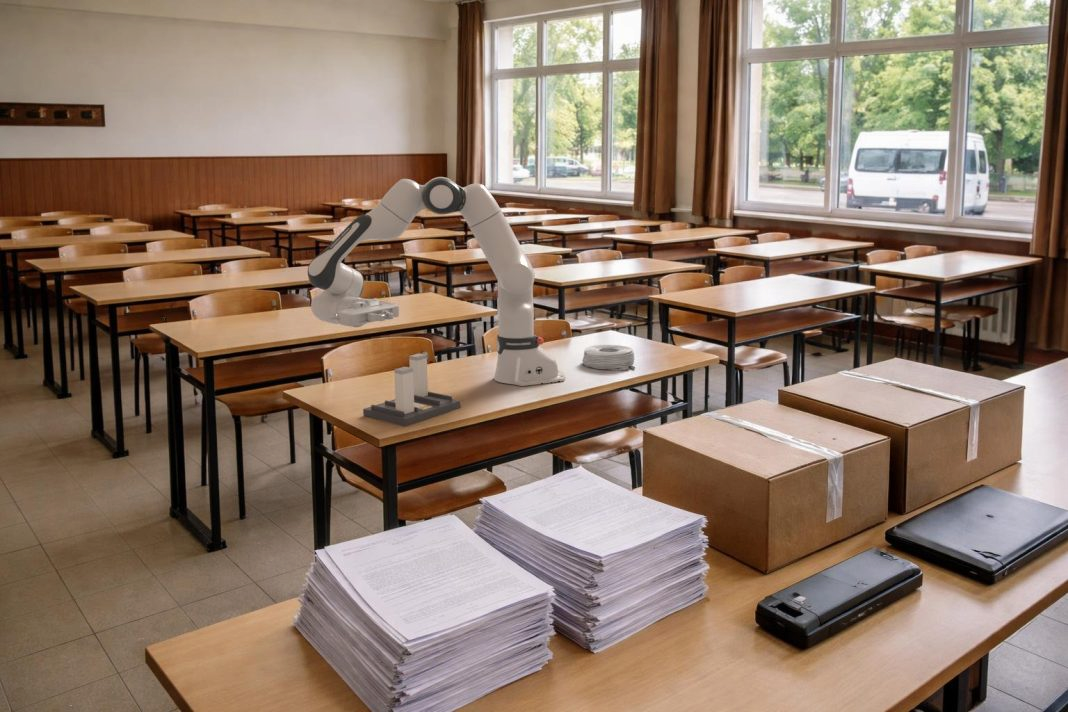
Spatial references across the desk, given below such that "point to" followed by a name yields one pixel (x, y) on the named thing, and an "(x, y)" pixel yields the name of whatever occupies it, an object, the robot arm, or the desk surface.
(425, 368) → the tall white block
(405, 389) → the white rectangular block
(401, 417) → the fixture base
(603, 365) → the cable
